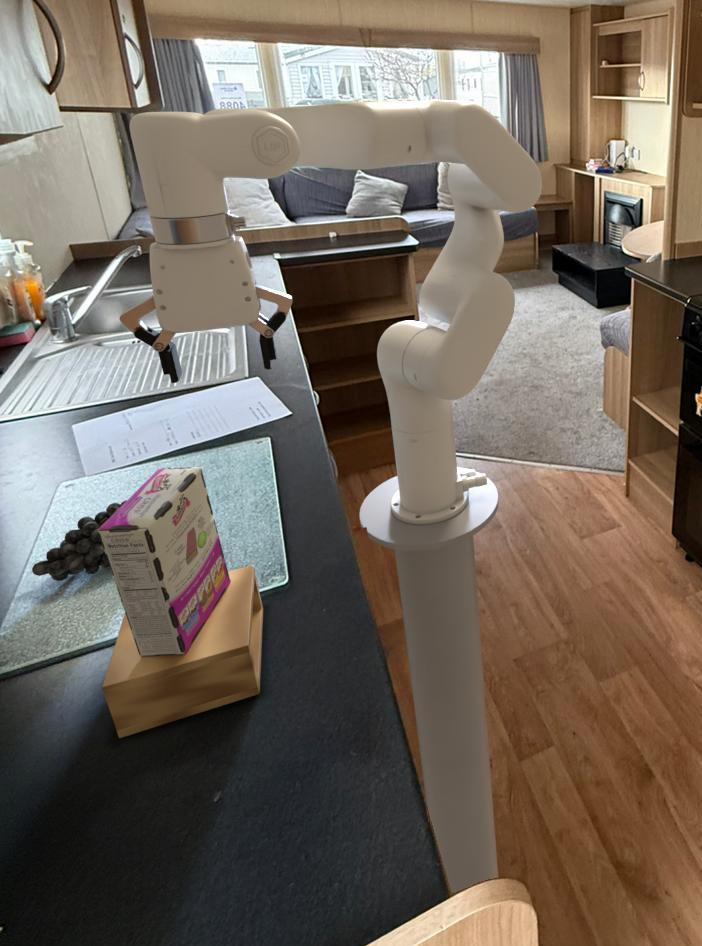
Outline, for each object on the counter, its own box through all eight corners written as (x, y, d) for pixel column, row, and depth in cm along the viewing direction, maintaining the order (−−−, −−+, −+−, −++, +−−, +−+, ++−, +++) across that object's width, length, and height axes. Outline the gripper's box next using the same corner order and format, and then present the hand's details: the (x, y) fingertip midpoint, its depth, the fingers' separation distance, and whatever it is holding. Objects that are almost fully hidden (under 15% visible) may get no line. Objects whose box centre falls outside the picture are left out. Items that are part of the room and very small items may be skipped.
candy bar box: (188, 585, 78) (157, 466, 72) (232, 582, 78) (204, 464, 73) (134, 660, 67) (93, 528, 62) (185, 657, 68) (149, 525, 62)
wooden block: (263, 609, 84) (253, 564, 81) (259, 694, 72) (248, 645, 69) (144, 641, 79) (130, 595, 76) (119, 738, 67) (101, 687, 64)
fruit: (15, 539, 82) (154, 495, 91) (23, 526, 89) (153, 486, 98) (35, 602, 83) (172, 552, 92) (43, 585, 90) (169, 540, 99)
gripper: (280, 219, 78) (301, 351, 84) (107, 229, 71) (144, 372, 77) (279, 229, 72) (303, 371, 78) (90, 242, 65) (131, 397, 71)
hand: (223, 371), depth 78 cm, fingers open, 9 cm apart
